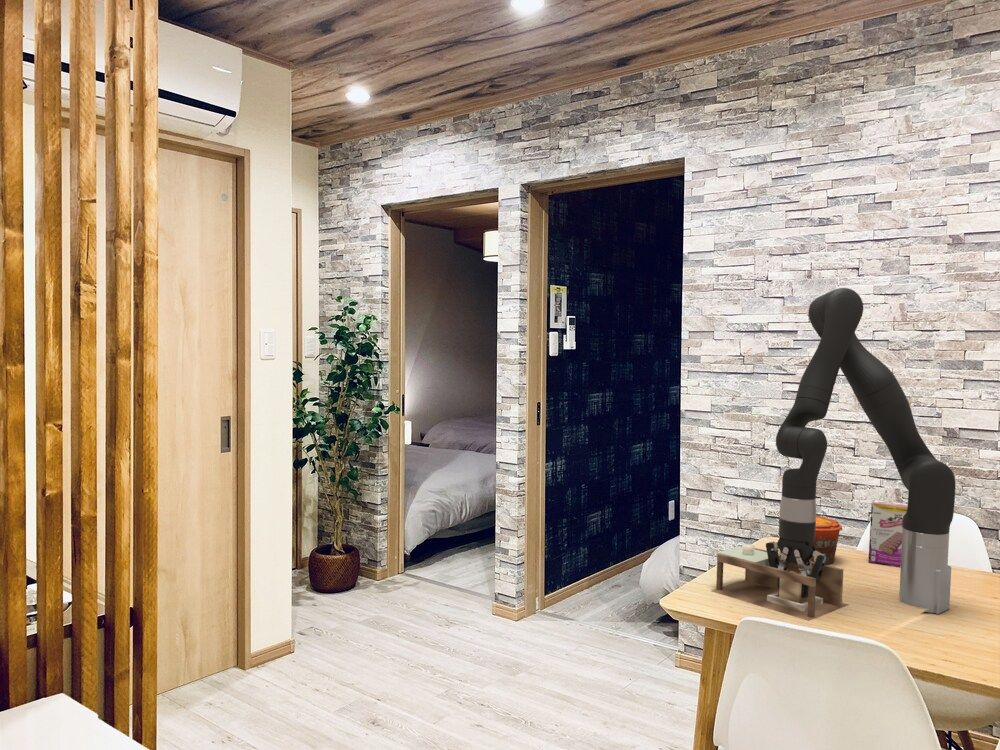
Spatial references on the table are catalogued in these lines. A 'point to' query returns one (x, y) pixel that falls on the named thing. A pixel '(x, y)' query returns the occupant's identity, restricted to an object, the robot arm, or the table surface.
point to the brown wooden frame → (765, 591)
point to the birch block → (791, 590)
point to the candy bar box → (886, 532)
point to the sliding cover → (748, 554)
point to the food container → (826, 537)
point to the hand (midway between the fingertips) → (793, 593)
